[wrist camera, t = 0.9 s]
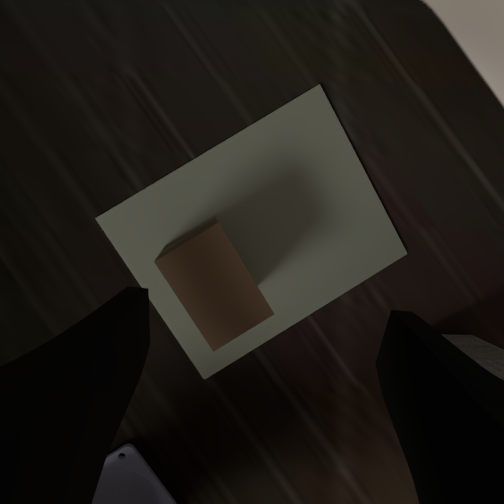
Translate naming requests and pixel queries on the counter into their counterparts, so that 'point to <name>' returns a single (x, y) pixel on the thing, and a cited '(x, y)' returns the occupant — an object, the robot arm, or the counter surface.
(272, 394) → the counter surface
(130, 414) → the counter surface
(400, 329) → the robot arm
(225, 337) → the walnut block
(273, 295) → the cream board
